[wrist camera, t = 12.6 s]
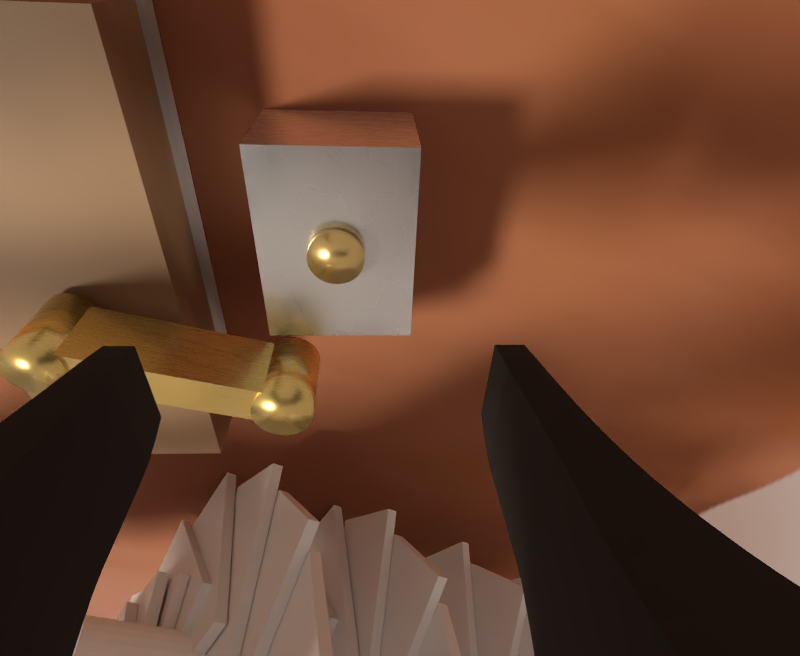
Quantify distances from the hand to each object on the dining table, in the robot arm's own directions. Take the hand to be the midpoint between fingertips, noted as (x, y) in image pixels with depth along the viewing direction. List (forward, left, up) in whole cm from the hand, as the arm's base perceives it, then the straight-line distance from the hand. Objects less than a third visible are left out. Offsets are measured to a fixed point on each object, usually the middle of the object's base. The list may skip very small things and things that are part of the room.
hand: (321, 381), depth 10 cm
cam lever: (-3, +5, -5) cm, 7 cm away
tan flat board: (-1, +8, -8) cm, 12 cm away
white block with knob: (0, 0, -9) cm, 9 cm away
